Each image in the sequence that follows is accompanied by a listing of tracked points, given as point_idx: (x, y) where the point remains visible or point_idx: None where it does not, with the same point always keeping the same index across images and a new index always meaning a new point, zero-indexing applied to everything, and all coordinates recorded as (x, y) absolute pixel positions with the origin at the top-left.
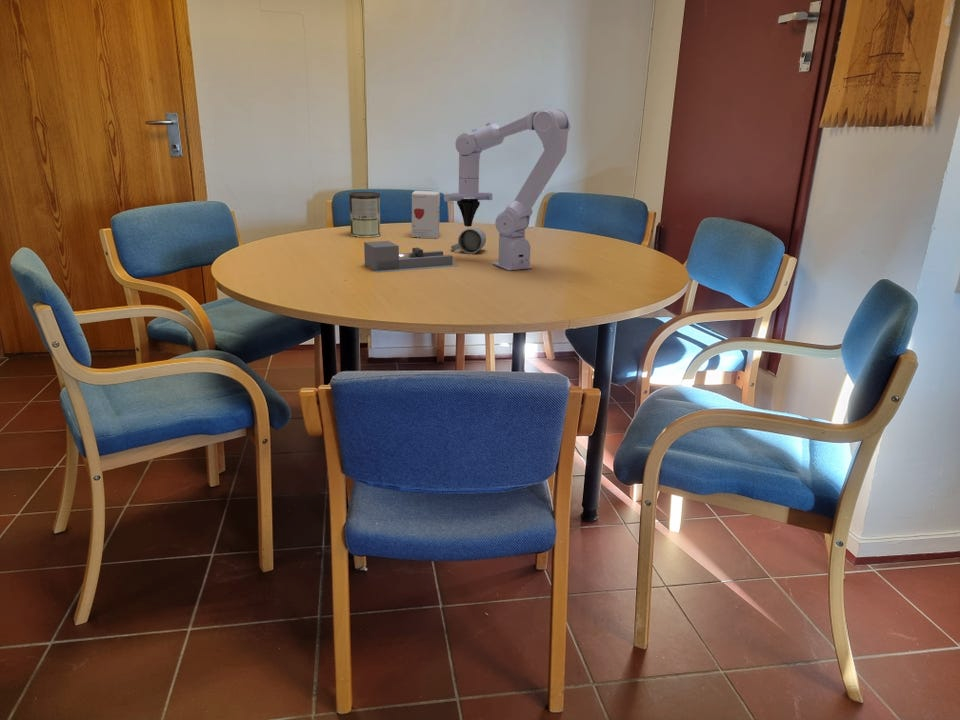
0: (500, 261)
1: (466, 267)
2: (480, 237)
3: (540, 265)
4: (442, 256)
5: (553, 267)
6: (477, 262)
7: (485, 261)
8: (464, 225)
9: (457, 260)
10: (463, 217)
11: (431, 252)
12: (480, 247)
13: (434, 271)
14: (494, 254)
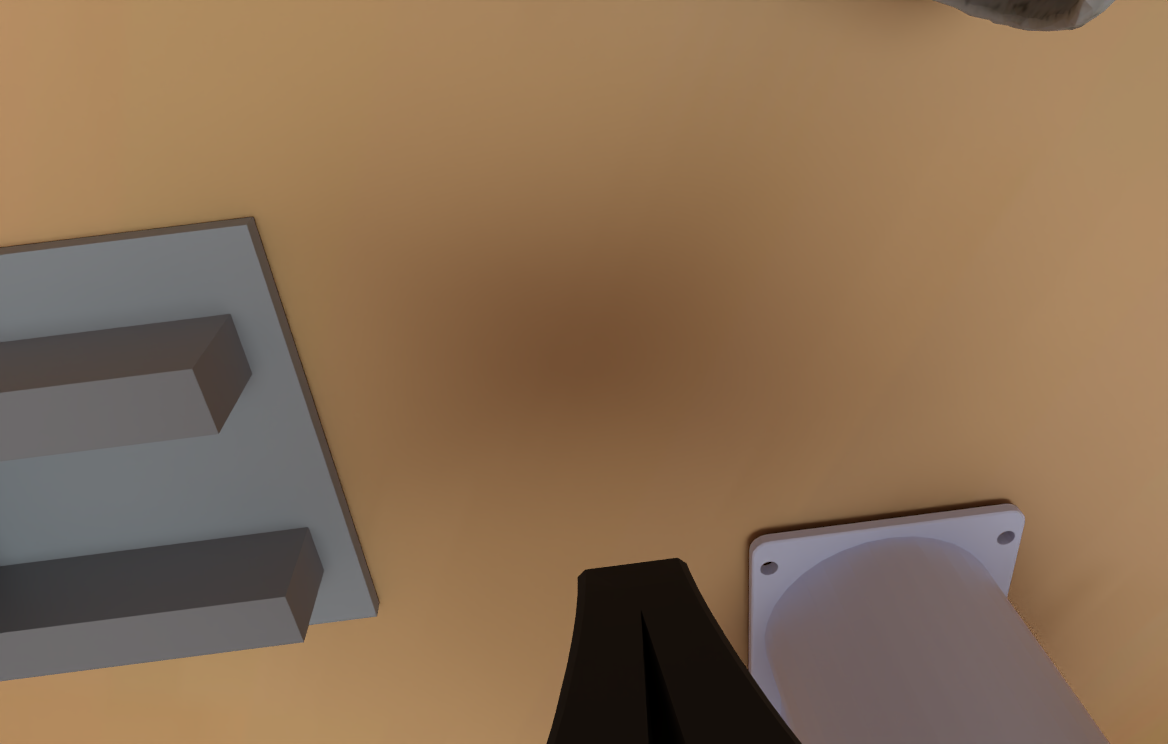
0: (774, 673)
1: (458, 597)
2: (1062, 18)
3: (1123, 619)
4: (181, 647)
5: (1157, 682)
6: (646, 436)
7: (752, 408)
8: (579, 584)
9: (456, 304)
10: (569, 729)
11: (43, 448)
12: (962, 7)
13: (128, 678)
14: (1101, 37)
